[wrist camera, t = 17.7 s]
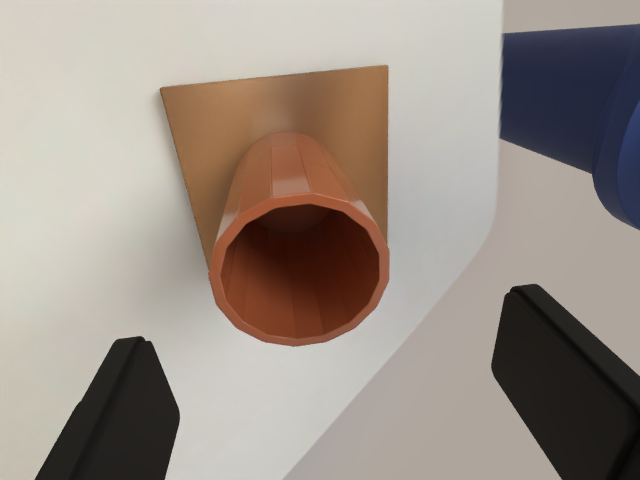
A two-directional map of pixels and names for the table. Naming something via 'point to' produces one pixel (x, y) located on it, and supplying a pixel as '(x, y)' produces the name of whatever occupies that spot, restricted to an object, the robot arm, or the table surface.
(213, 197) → the cork mat
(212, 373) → the table surface
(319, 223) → the tumbler
